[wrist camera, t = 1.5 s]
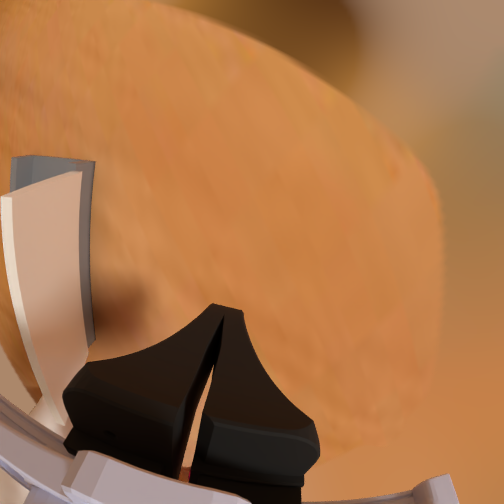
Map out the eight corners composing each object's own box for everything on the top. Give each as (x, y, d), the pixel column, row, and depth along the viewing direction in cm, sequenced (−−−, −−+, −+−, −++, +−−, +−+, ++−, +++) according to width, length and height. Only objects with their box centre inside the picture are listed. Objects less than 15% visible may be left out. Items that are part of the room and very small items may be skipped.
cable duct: (95, 339, 25) (83, 353, 23) (38, 312, 25) (25, 323, 23) (95, 161, 19) (76, 163, 17) (30, 154, 19) (11, 157, 16)
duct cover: (81, 351, 22) (88, 352, 22) (56, 423, 14) (65, 425, 14) (73, 170, 17) (82, 171, 17) (0, 196, 8) (12, 197, 8)
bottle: (65, 416, 33) (-3, 535, 4) (40, 383, 30) (-44, 506, 2) (97, 424, 32) (29, 563, 3) (70, 390, 29) (-19, 538, 1)
